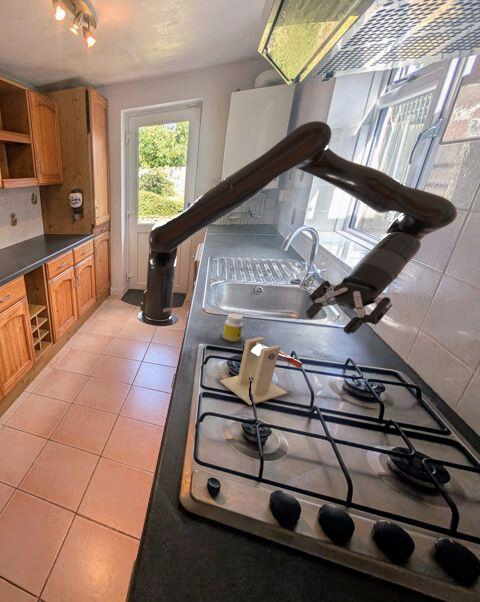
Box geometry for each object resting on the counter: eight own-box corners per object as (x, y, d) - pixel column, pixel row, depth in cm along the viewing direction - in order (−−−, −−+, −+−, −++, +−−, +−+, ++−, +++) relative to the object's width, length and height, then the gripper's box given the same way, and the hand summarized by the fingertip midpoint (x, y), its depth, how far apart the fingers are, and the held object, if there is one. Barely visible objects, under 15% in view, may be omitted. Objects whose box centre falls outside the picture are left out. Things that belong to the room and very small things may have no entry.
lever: (277, 358, 75) (282, 349, 74) (299, 370, 70) (304, 361, 69) (244, 348, 69) (249, 338, 69) (265, 360, 64) (271, 350, 64)
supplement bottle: (238, 346, 90) (243, 320, 87) (221, 342, 92) (225, 317, 89) (239, 339, 94) (244, 314, 91) (223, 335, 96) (227, 311, 93)
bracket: (253, 374, 77) (264, 330, 72) (286, 396, 69) (300, 348, 64) (219, 384, 73) (227, 338, 69) (249, 408, 66) (261, 358, 61)
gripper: (337, 256, 75) (292, 305, 76) (410, 271, 63) (356, 328, 64) (344, 274, 79) (302, 320, 80) (415, 291, 67) (364, 345, 67)
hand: (326, 324), depth 72 cm, fingers open, 8 cm apart
